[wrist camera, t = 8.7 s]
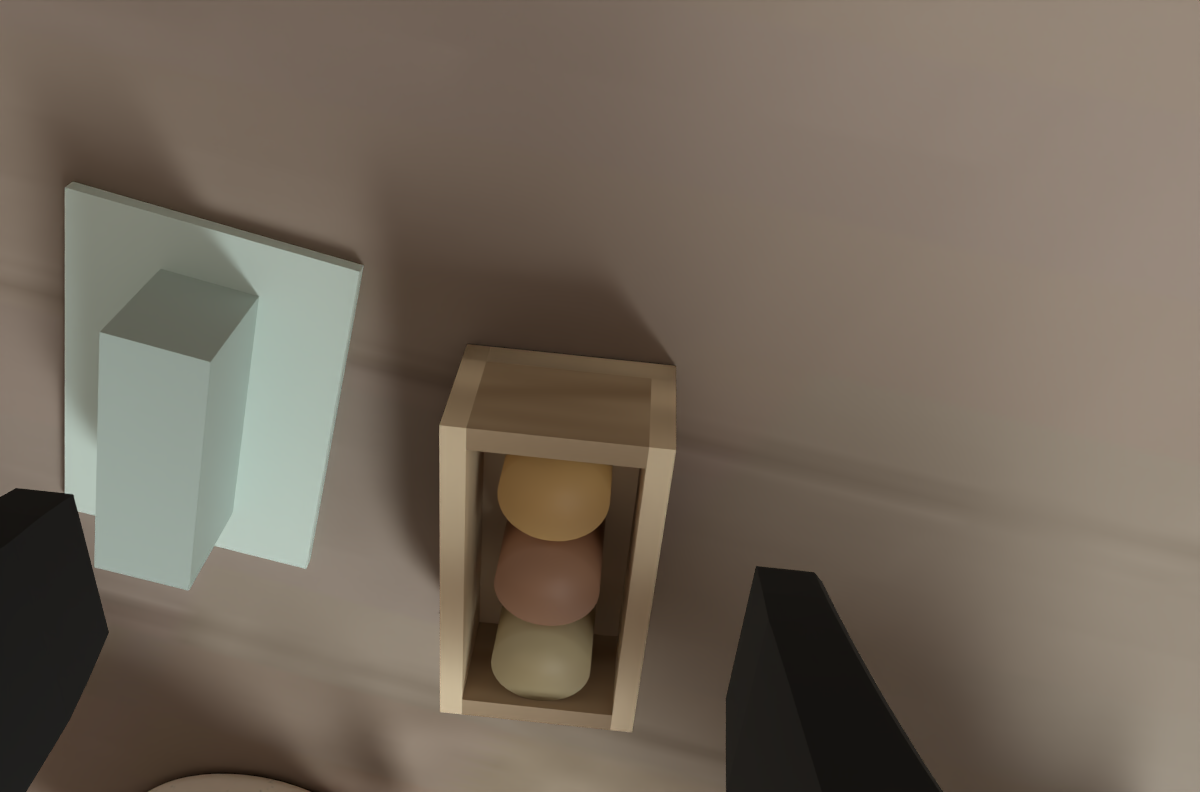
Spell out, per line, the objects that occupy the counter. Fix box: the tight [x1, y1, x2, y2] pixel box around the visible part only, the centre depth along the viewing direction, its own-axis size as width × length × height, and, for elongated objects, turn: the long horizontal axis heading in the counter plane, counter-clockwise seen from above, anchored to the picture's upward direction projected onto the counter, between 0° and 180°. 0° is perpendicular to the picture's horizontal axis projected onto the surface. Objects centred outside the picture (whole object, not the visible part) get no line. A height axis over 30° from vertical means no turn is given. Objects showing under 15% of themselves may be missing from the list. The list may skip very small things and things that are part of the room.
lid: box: [65, 182, 364, 590], centre depth 21 cm, size 8×6×3 cm
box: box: [439, 344, 676, 732], centre depth 22 cm, size 8×4×3 cm, turn 175°
